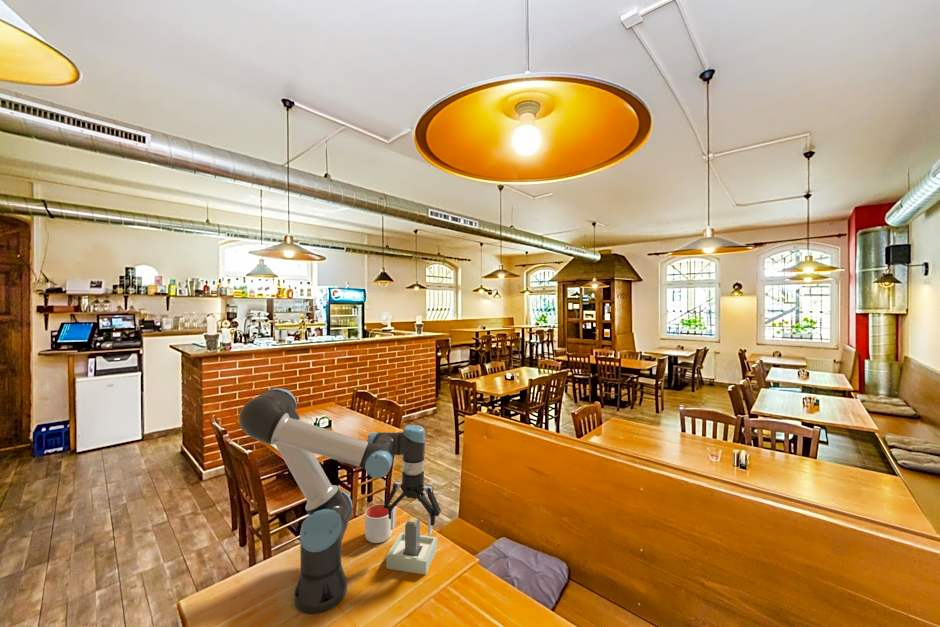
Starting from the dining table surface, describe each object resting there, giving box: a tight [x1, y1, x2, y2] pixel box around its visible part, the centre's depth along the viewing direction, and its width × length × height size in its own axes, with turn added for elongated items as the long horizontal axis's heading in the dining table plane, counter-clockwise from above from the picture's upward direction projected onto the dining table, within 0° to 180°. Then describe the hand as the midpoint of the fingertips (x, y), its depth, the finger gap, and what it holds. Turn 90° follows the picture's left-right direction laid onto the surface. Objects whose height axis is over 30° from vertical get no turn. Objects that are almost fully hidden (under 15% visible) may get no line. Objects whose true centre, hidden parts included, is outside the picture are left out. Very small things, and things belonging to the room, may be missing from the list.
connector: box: [404, 517, 421, 557], centre depth 132 cm, size 4×4×14 cm
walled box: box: [385, 531, 438, 576], centre depth 133 cm, size 14×13×4 cm
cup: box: [364, 503, 393, 544], centre depth 145 cm, size 10×10×10 cm
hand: (411, 530), depth 132 cm, fingers open, 13 cm apart
